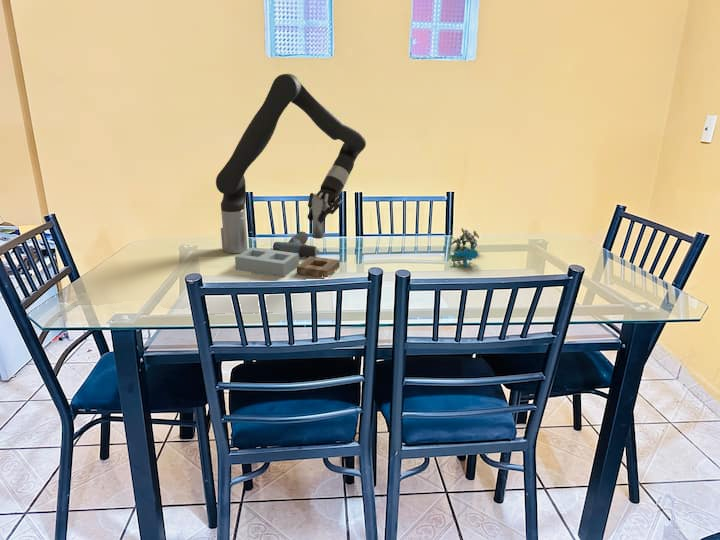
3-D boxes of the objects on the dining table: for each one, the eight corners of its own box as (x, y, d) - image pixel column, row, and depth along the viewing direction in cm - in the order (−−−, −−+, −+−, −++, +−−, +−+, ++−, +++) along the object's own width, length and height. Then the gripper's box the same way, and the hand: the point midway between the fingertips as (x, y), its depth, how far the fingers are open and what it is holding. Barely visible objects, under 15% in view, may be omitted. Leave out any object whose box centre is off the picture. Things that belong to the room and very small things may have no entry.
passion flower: (471, 263, 208) (482, 246, 199) (447, 258, 208) (456, 241, 198) (471, 242, 215) (481, 225, 205) (447, 237, 214) (456, 220, 204)
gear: (477, 257, 194) (478, 246, 185) (478, 271, 192) (480, 260, 183) (448, 259, 196) (449, 248, 187) (450, 273, 193) (450, 262, 184)
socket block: (296, 274, 178) (296, 266, 177) (310, 263, 189) (310, 256, 188) (327, 278, 175) (327, 271, 174) (339, 267, 185) (339, 260, 184)
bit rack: (235, 269, 182) (234, 256, 180) (252, 259, 192) (252, 247, 191) (284, 276, 176) (283, 263, 174) (299, 265, 186) (298, 253, 185)
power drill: (331, 245, 212) (316, 260, 194) (290, 241, 216) (272, 256, 198) (331, 233, 210) (316, 247, 192) (290, 229, 214) (272, 243, 196)
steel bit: (310, 237, 176) (310, 199, 171) (315, 234, 180) (314, 197, 175) (321, 239, 175) (320, 200, 170) (325, 236, 178) (325, 198, 173)
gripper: (315, 172, 179) (293, 211, 174) (346, 177, 172) (325, 218, 167) (324, 184, 185) (304, 222, 180) (355, 190, 178) (335, 229, 173)
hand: (314, 220), depth 173 cm, fingers closed on steel bit, 4 cm apart
